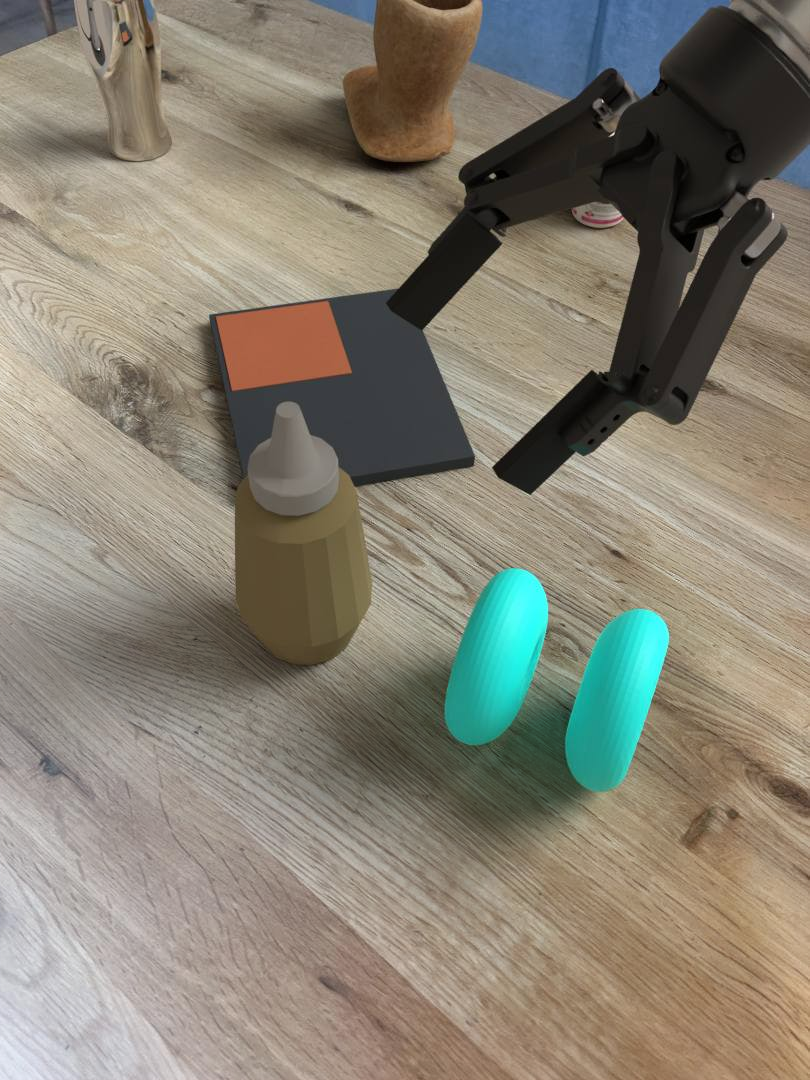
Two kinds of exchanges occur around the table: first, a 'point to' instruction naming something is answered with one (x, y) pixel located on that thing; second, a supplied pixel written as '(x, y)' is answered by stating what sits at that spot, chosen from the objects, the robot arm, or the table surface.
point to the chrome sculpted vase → (126, 73)
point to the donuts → (509, 664)
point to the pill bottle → (598, 214)
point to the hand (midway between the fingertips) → (452, 393)
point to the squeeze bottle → (299, 546)
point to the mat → (341, 384)
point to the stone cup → (412, 78)
